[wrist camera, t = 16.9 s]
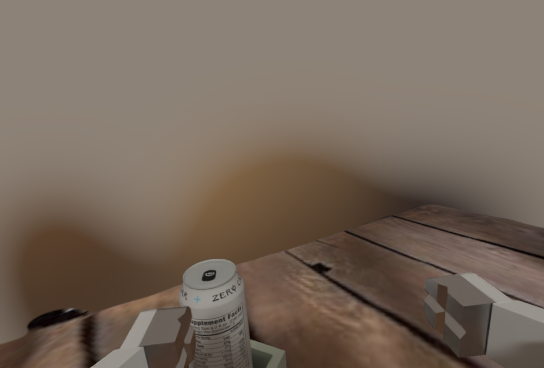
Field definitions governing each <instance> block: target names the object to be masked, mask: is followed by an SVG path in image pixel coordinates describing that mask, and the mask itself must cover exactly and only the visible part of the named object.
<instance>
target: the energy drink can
mask: <svg viewBox="0 0 544 368" xmlns="http://www.w3.org/2000/svg"><path fill="white" fill-rule="evenodd" d="M179 302H180V307H183V306H189V307H190V308H191V313H192V320H191V323H190V325H192V326H193V327H194V329H195V335H196V348H195V355H194V360H193V361H192V362H191V363H190V368H253V364H252V355H251V345H250V336H249V326H248V316H247V307H246V297H245V287H244V281H243V279H242V277H241V276H240V275H239V274H238V272H237V271H236V266H235V264H234V263H232V262H230V261H228V260H224V259H211V260H206V261H203V262H199V263H197V264H195V265H193V266H191V267H190V268H189V269H187V270H186V272H185V273H184V275H183V284H182V287H181V289H180V292H179Z"/></svg>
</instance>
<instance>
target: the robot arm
mask: <svg viewBox="0 0 544 368" xmlns="http://www.w3.org/2000/svg"><path fill="white" fill-rule="evenodd" d="M425 290H426V291H427V293H428V296H427V297H426V298H425V300H424V311H425V315H426V318H427V320H428V321H429V323H430V325H431V326H432V327H433V328H434V329H435V330H436V331H438V332H440V333H442V334H444V341H445V342H446V344H447V345H448V346H449V347H450V348H451V349H452V350H453V352H454V353H455V354H456V355H457V356H458V357H468V356H478V355H486V357H488V358H490V359H491V360H493V361H495V362H496V363H498V364H499V365H501V366H503V367H504V368H544V309H542V308H539V307H536V306H533V305H530V304H527V303H524V302H521V301H513V300H511V299H510V298H508V297H507V296H506V295H504V294H503V293H501V292H500V291H499V290H497V289H496V288H494V287H493V286H491V285H490V284H489V283H487V282H486V281H484V280H483V279H481V278H480V277H479V276H477V275H476V274H474V273H470V272H468V273H461V274H455V275H450V276H442V277H434V278H427V280H426V282H425ZM191 320H192V313H191V308H190V307H189V306H183V307H172V308H162V309H153V310H144V311H142V312H141V313H140V314H139V316H138V318H137V319H136V321H135V323H134V325H133V326H132V328H131V330H130V332H129V333H128V335H127V337H126V339H125V340H124V342H123V344H122V346H121V347H120V349H118V350H114V351H112V352H111V353H110V354H108V355H107V356H106V357H104V358H103V359H102V360H100V361H99V362H98V363H96V364H95V365H94V366H92V367H91V368H189V364H190V363H191V362H192V361H193V360H194V355H195V348H196V335H195V329H194V327H193V326H192V325H190V323H191Z"/></svg>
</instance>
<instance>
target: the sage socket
mask: <svg viewBox="0 0 544 368" xmlns="http://www.w3.org/2000/svg"><path fill="white" fill-rule="evenodd" d="M250 345H251V355H252V364H253V368H286V354H285V351H284V350H281V349H278V348H275V347H272V346H269V345H266V344H263V343H260V342H257V341H254V340H250ZM189 368H190V364H189Z"/></svg>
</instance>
